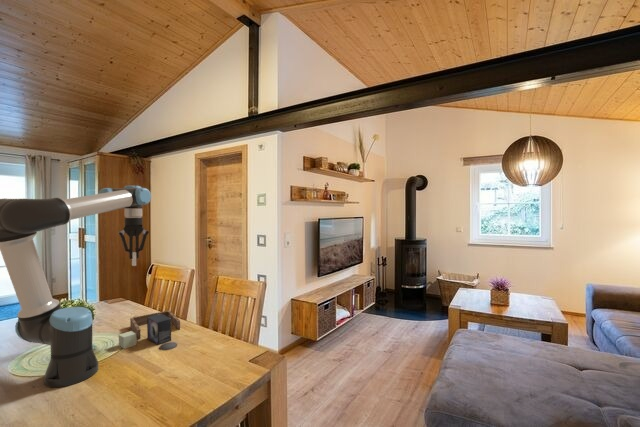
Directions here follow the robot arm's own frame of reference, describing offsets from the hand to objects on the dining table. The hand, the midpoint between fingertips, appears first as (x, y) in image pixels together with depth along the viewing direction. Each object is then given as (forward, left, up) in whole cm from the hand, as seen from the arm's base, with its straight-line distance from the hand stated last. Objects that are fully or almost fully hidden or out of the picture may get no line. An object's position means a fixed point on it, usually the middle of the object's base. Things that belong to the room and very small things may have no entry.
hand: (134, 265), depth 149 cm
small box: (-19, -7, -33) cm, 38 cm away
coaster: (-29, -8, -32) cm, 44 cm away
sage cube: (-16, +5, -33) cm, 37 cm away
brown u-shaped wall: (-2, -8, -32) cm, 34 cm away
